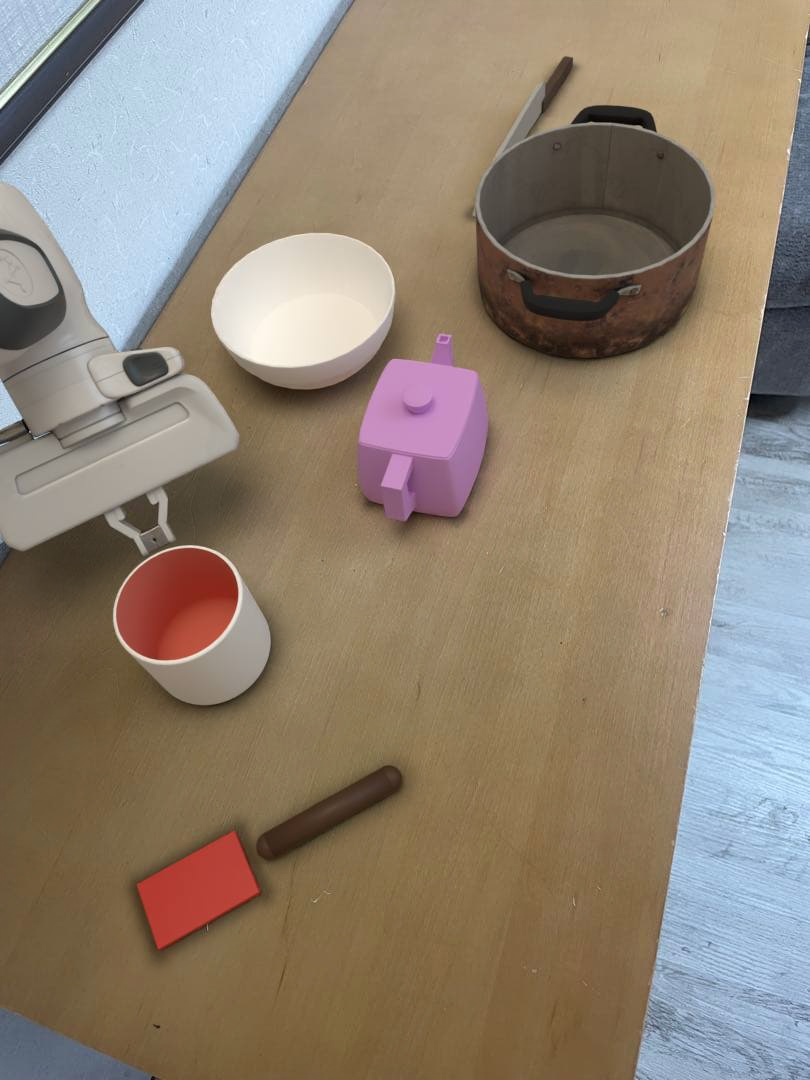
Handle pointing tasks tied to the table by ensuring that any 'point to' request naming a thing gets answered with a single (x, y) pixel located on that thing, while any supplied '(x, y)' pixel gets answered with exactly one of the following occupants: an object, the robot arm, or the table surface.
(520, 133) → the kitchen knife
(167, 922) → the spatula
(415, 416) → the teapot
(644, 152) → the saucepan
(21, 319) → the robot arm
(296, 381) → the bowl
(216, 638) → the cup
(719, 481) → the table surface
